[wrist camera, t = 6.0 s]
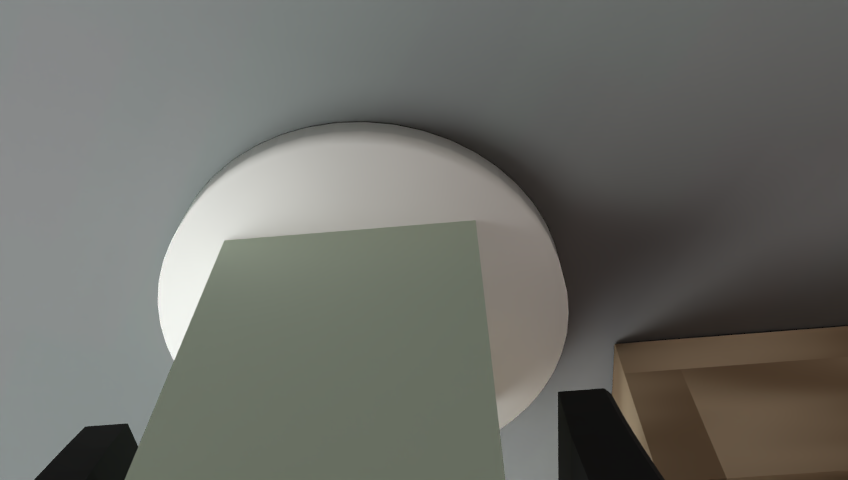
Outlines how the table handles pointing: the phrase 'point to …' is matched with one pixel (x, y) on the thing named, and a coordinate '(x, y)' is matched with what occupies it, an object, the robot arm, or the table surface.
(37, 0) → the table surface
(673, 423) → the pencil box
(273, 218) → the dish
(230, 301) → the green block
